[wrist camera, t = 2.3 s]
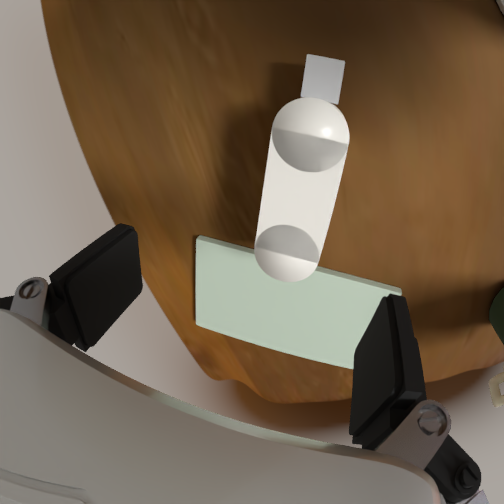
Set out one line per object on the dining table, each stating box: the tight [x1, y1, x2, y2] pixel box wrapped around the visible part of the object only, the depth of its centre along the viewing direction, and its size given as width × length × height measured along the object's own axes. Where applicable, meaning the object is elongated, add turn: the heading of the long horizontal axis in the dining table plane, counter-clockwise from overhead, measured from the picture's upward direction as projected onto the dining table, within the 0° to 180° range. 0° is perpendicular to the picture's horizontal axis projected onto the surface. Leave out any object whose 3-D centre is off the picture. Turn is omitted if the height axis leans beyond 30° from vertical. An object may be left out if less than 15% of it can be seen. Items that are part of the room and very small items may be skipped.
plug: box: [254, 54, 349, 282], centre depth 19 cm, size 4×15×6 cm, turn 173°
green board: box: [196, 235, 402, 369], centre depth 29 cm, size 20×12×1 cm, turn 83°
